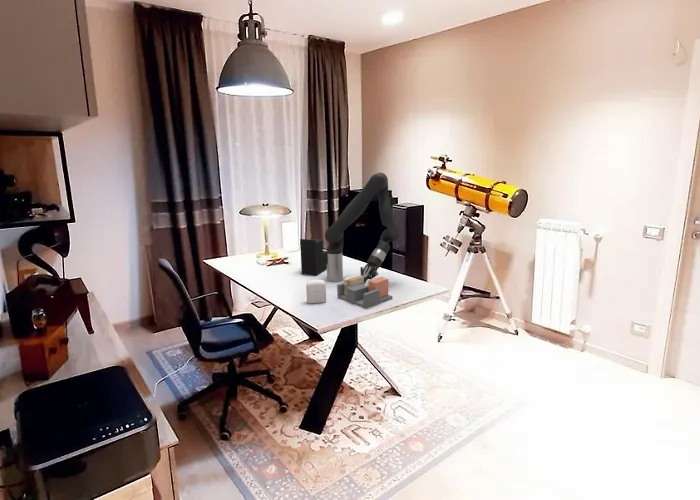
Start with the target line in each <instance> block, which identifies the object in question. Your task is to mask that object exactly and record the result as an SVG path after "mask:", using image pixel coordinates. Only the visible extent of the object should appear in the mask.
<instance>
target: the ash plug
mask: <svg viewBox="0 0 700 500" xmlns="http://www.w3.org/2000/svg"><path fill="white" fill-rule="evenodd" d="M343 283H344V295H347V288H349V287H353V286H356V285H359V284H363V285H365V284H364V277H363V276H361V274H356V275H352V276H349V277H348V276H347V277H346V278H343Z"/></svg>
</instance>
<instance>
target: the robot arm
mask: <svg viewBox="0 0 700 500" xmlns="http://www.w3.org/2000/svg"><path fill="white" fill-rule="evenodd" d="M388 179H389V178H388V176H387V175H386V174H385V173H384V172H377V173H374V174H373V175H371V177H370V178H369V180H368V181H367V182H366V184H365V186H364V187H363V188H362V189H361V191H360V192H359V193H357V195H355V196H354V198H353V199H352V200H351V201H350V202H349V203H348V204H347V206H346V207H345V209H343V211H342V212H341V214H339V216H338V218H337V219H336V220H335V221H334V222H333V223H332V225H330V227H329V228H327V229H325V232H324V238H325V241H327V243H328V245H327V249H326V251H327V261H328V264H327V269H326V280H327V281H329V282H334V283H335V282H342V281H344V274H343V273H344V267H343V266H344V265H343V264H344V263H343V261H344V260H343V249H344V231H345V230H346V229H347V228H348V227H349V226H351V225H352V224H354V222H356V221H357V219H358V218H359V217H360V216H361V215H362V214H363V213H364V211H365V210H366V209H367V207H368V205H369V204H370V202H371V200H372V199H373V198H374V197H375V196H376V195H378V196H377V197H378V209H379V215H380V220H381V223H382V225H383V226H384V227H386V229H384V231H383V232H382V233H381V235H380V239H379V241H378V243H377V246H376V247H375V249H374V250H373V251H372V253H371V255H370V256H369V258H368V260H367V262H366V264H365V266H360V276H363V277H364V285H365V284H366V283H367V281H370V280H373V279H375V278H376V277H377V276H378V275H379V272H378V269H379V268H380V267H381V265H382V263H383V262H384V260H385V258H386V256H387V255H388V252H389V251H390V249H391V245H390V244H389V243H390V242H396V241H398V240H399V238H400V230H399V228H398V226H397V224H396V222H395V219H394V214H393V210H392V206H391V200H390V193H389V180H388Z"/></svg>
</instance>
